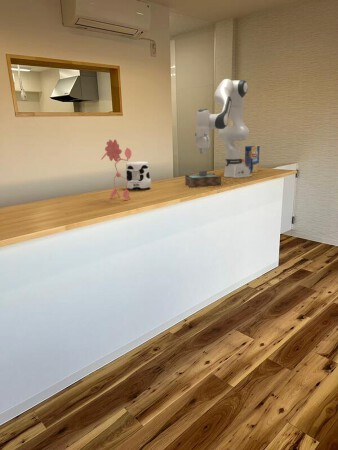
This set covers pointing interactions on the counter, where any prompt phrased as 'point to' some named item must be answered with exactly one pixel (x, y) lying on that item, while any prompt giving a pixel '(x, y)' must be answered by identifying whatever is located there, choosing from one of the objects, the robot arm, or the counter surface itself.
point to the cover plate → (202, 175)
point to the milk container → (138, 175)
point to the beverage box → (252, 158)
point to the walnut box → (203, 181)
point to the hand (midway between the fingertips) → (202, 154)
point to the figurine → (114, 153)
